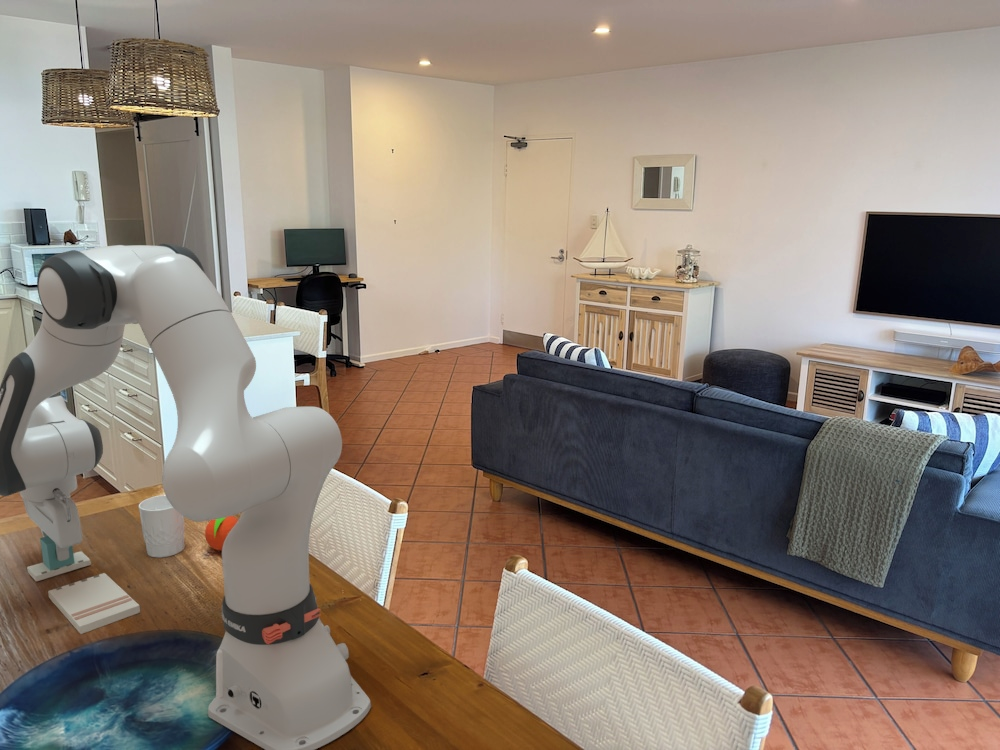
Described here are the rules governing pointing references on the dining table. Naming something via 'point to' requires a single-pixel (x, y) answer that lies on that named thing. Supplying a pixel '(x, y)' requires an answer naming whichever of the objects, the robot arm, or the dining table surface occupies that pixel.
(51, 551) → the stub
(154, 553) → the white cup
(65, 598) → the ticket
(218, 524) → the clementine
